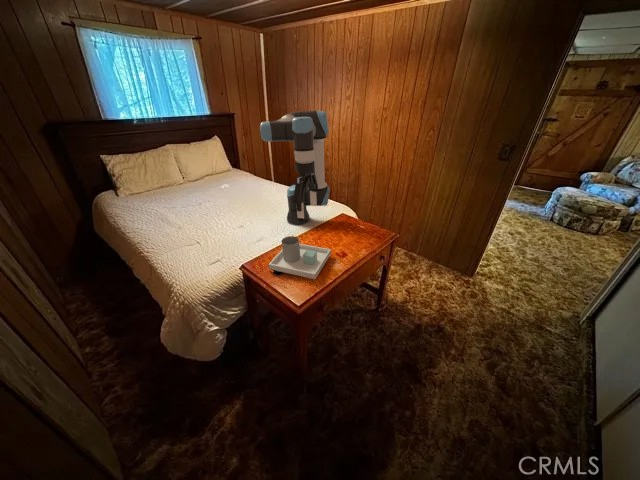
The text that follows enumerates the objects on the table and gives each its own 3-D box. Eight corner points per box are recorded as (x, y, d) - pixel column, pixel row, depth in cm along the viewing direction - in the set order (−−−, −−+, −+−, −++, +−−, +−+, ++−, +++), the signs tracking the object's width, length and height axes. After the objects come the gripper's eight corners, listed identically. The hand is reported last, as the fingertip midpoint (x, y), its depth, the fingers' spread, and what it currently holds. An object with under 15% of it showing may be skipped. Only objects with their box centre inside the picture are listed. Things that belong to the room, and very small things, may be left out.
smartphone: (257, 265, 125) (278, 277, 117) (257, 264, 125) (278, 275, 117) (269, 259, 130) (289, 269, 122) (269, 257, 130) (289, 268, 122)
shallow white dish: (290, 248, 138) (289, 241, 136) (331, 256, 130) (331, 249, 128) (269, 271, 120) (268, 264, 118) (315, 282, 113) (314, 274, 111)
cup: (297, 263, 121) (296, 245, 116) (281, 261, 123) (279, 244, 118) (302, 253, 129) (300, 236, 124) (286, 252, 130) (284, 235, 125)
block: (307, 258, 125) (307, 249, 123) (317, 260, 124) (316, 251, 121) (303, 263, 121) (302, 255, 119) (313, 265, 120) (312, 256, 117)
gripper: (308, 154, 110) (310, 200, 120) (280, 168, 90) (286, 222, 100) (324, 154, 107) (325, 202, 118) (299, 169, 87) (303, 224, 98)
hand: (307, 211), depth 109 cm, fingers open, 13 cm apart
